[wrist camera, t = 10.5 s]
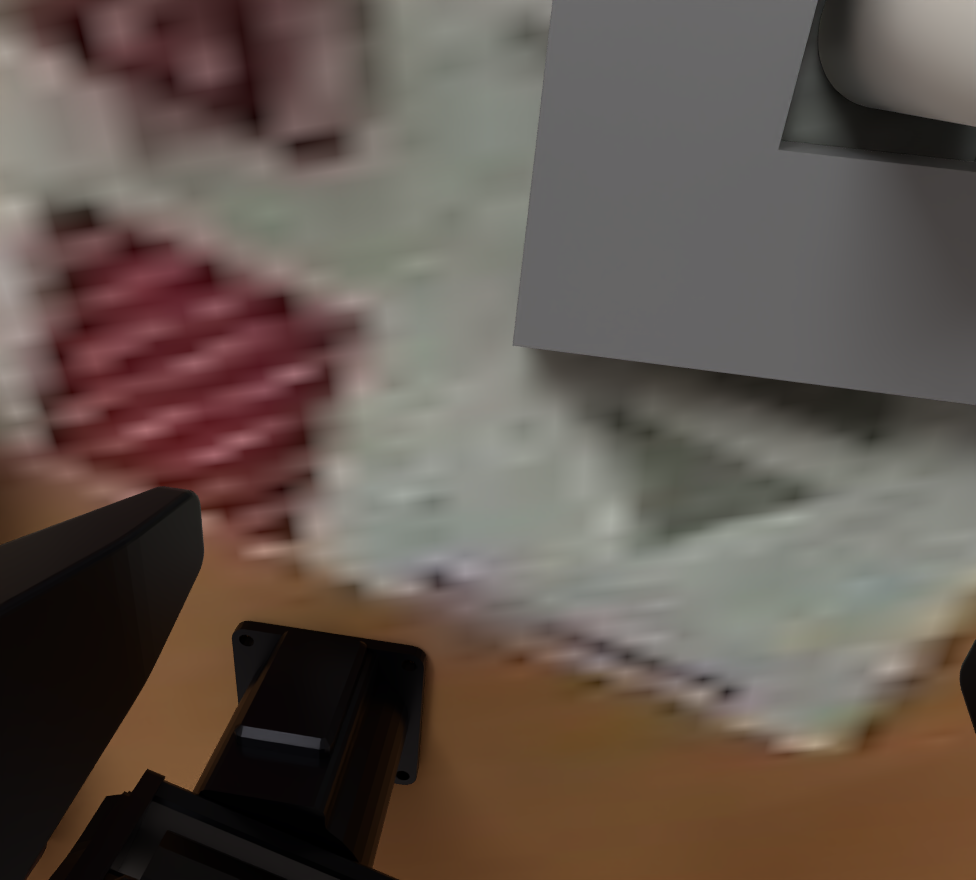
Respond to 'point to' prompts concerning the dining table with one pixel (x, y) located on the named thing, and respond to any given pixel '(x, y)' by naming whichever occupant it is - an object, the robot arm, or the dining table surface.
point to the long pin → (903, 55)
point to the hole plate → (734, 212)
